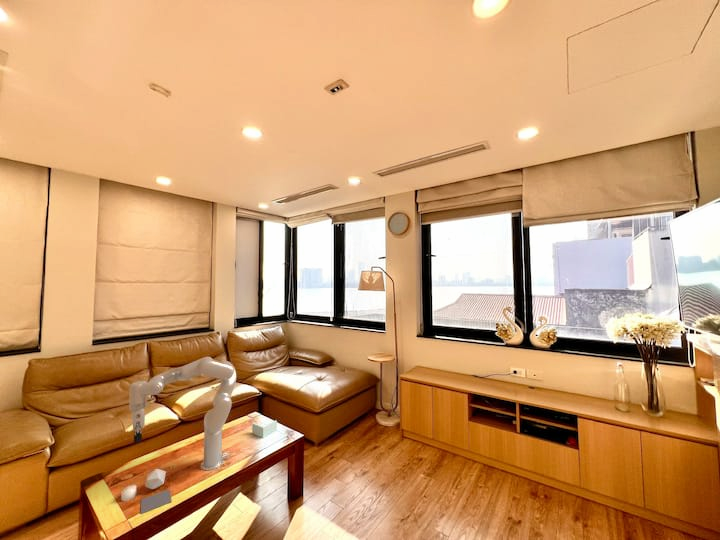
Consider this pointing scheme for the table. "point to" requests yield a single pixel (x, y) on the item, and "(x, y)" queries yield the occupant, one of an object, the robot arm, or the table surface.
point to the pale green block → (264, 429)
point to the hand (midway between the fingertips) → (137, 437)
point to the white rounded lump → (128, 493)
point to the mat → (155, 501)
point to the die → (155, 479)
